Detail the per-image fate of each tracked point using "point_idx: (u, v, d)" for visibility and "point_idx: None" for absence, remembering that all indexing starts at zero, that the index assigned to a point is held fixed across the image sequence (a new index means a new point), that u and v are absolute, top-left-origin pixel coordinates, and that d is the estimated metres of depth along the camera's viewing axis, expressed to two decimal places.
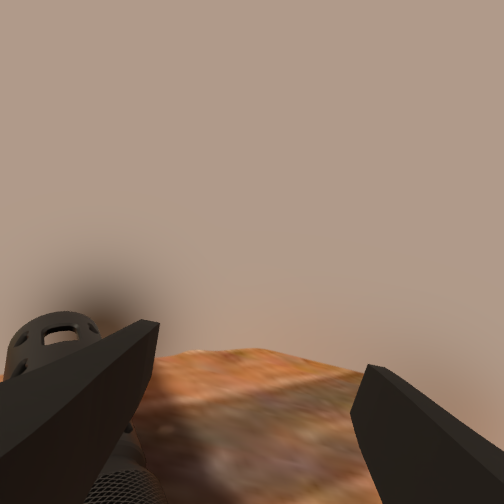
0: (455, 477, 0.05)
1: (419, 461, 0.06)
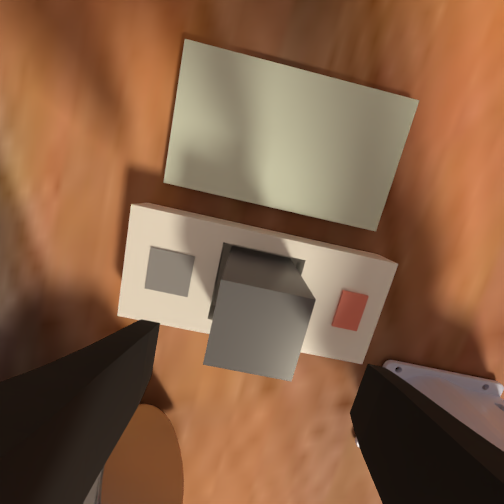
0: (455, 477, 0.05)
1: (419, 461, 0.06)
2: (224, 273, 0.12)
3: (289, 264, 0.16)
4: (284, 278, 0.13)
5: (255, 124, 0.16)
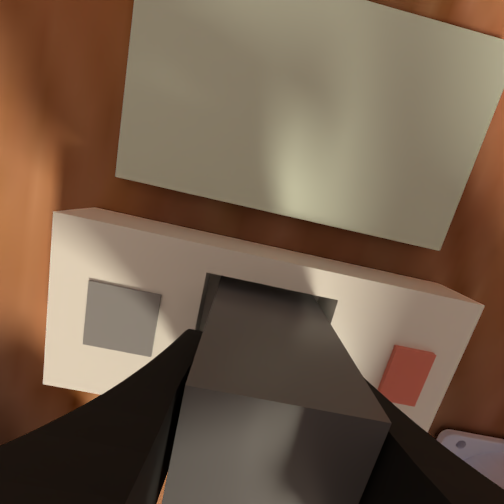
0: (384, 465, 0.05)
1: None
2: (197, 356, 0.06)
3: (312, 306, 0.10)
4: (312, 348, 0.07)
5: (258, 84, 0.10)
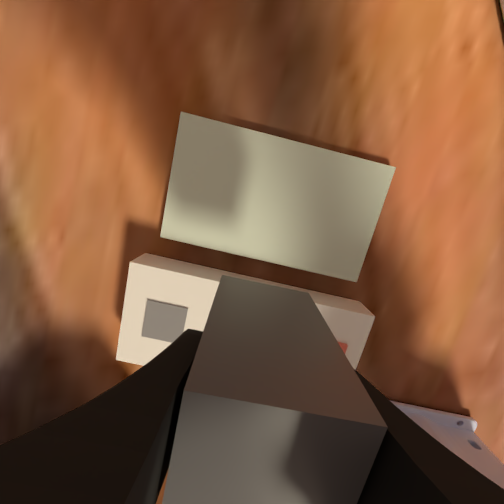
0: (384, 465, 0.05)
1: None
2: (196, 361, 0.06)
3: (310, 309, 0.10)
4: (310, 352, 0.07)
5: (245, 187, 0.17)
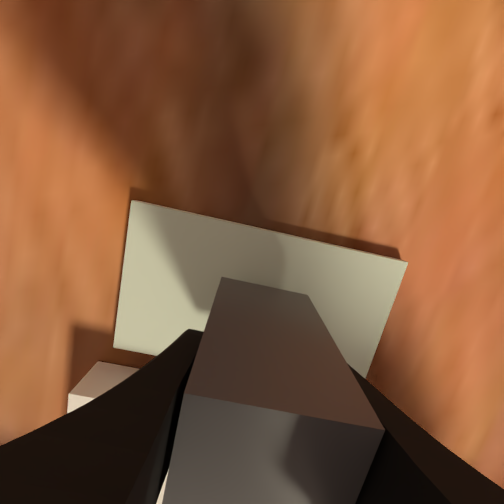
0: (384, 464, 0.05)
1: None
2: (196, 364, 0.06)
3: (309, 311, 0.10)
4: (309, 355, 0.07)
5: (217, 288, 0.14)
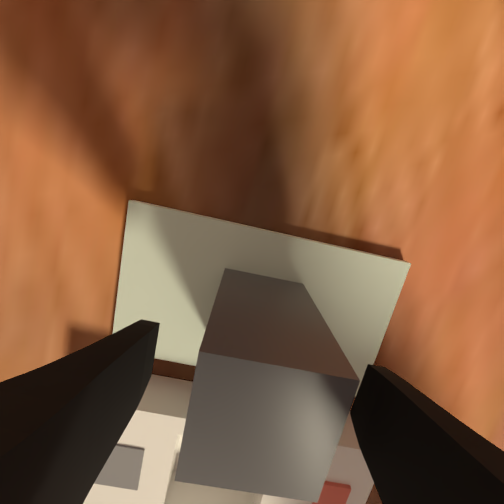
0: (455, 477, 0.05)
1: (419, 461, 0.06)
2: (207, 332, 0.07)
3: (304, 296, 0.11)
4: (301, 328, 0.08)
5: (217, 290, 0.13)
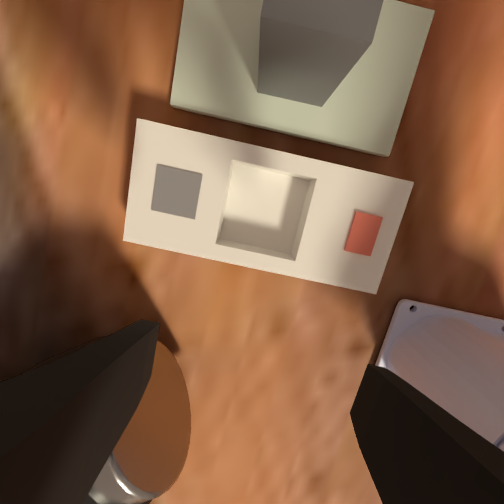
0: (455, 477, 0.05)
1: (419, 461, 0.06)
2: None
3: None
4: None
5: None
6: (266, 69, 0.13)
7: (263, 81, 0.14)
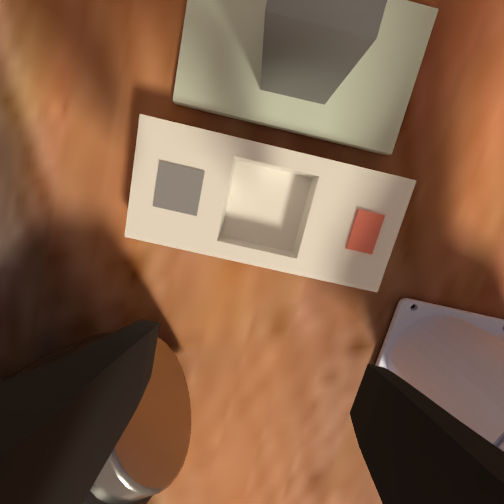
0: (455, 477, 0.05)
1: (419, 461, 0.06)
2: None
3: None
4: None
5: None
6: (270, 65, 0.13)
7: (266, 78, 0.14)
